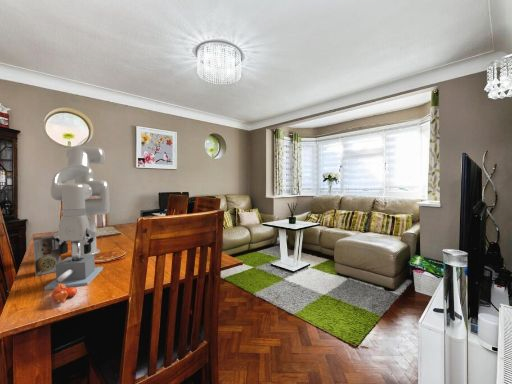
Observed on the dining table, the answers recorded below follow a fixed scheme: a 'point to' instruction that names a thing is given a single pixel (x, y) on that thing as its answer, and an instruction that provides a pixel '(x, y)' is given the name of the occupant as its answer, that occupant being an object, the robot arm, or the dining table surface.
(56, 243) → the coffee box
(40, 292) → the dining table surface
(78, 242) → the key peg
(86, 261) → the grey socket block
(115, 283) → the dining table surface
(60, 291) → the orange toy bird
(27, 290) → the dining table surface
